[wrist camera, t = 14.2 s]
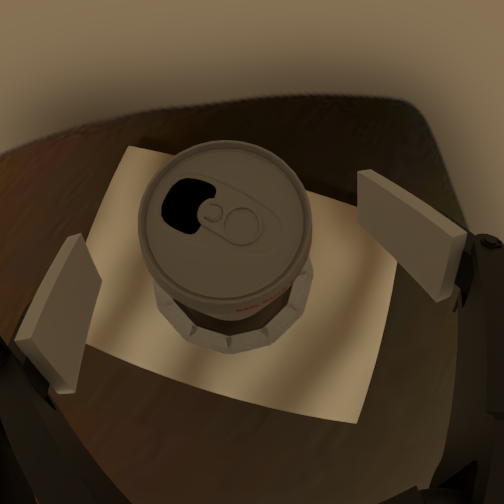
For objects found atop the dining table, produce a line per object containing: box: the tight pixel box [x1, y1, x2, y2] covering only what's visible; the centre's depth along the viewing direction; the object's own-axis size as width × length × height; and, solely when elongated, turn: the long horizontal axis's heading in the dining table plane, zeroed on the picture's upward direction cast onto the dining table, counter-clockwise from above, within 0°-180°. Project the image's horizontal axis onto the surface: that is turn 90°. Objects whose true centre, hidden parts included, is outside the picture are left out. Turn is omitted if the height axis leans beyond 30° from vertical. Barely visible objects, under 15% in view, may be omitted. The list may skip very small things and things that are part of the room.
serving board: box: [85, 146, 397, 423], centre depth 21 cm, size 22×15×2 cm
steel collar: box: [151, 255, 314, 355], centre depth 19 cm, size 9×9×3 cm
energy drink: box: [138, 140, 312, 321], centre depth 14 cm, size 5×5×12 cm
